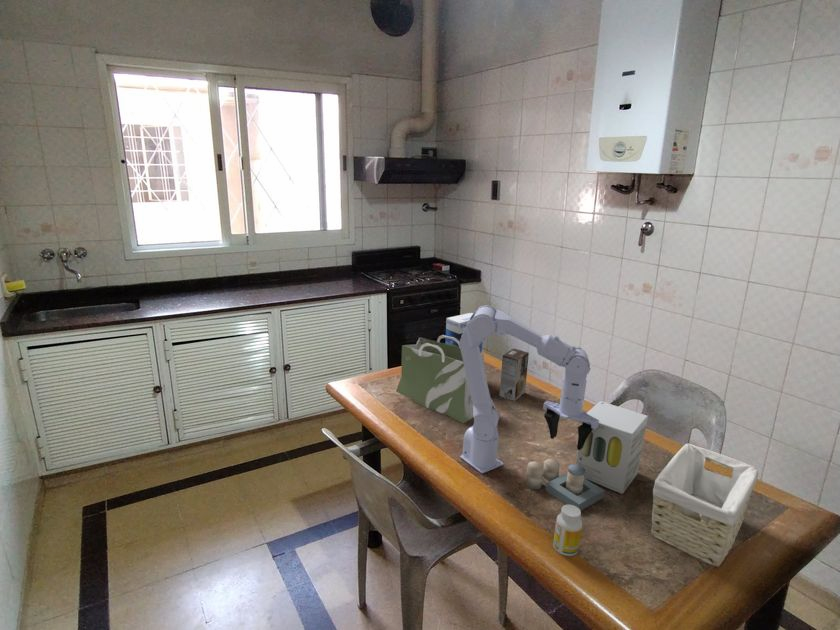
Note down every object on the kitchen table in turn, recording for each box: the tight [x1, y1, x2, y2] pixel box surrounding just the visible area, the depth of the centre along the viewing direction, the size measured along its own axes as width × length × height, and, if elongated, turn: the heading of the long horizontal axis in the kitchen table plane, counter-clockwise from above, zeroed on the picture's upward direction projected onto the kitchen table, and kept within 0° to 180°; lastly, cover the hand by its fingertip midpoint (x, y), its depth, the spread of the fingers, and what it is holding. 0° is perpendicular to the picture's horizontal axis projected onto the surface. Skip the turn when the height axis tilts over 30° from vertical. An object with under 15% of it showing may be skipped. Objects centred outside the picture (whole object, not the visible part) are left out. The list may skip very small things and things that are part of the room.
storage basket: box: [650, 443, 759, 567], centre depth 113 cm, size 24×16×15 cm
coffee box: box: [498, 348, 529, 402], centre depth 178 cm, size 9×6×16 cm
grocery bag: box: [395, 334, 487, 424], centre depth 170 cm, size 32×14×23 cm, turn 47°
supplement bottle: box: [552, 504, 583, 557], centre depth 106 cm, size 5×5×10 cm
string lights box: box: [444, 312, 483, 353], centre depth 187 cm, size 13×8×26 cm, turn 130°
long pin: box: [565, 463, 585, 496], centre depth 124 cm, size 4×4×8 cm
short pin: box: [543, 458, 561, 482], centre depth 132 cm, size 4×4×4 cm
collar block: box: [545, 472, 605, 511], centre depth 125 cm, size 10×10×2 cm
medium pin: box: [525, 460, 544, 490], centre depth 128 cm, size 4×4×6 cm
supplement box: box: [575, 400, 649, 495], centre depth 132 cm, size 13×13×18 cm
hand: (566, 442), depth 130 cm, fingers open, 7 cm apart
